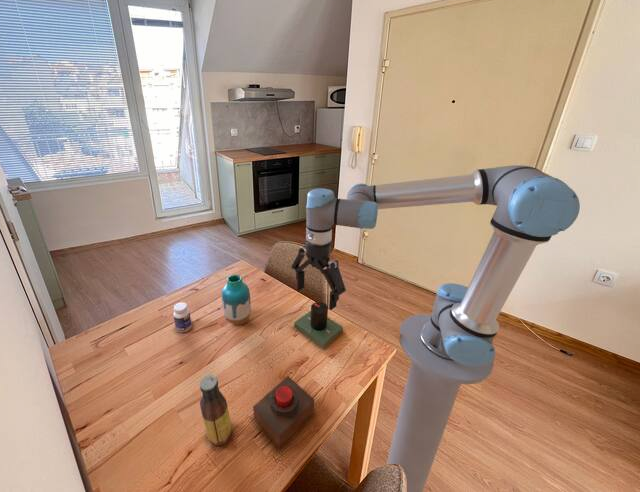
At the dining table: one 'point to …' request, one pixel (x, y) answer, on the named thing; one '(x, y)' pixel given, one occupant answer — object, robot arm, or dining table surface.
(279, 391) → the light button
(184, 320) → the pill bottle
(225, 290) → the vase
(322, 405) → the dining table surface
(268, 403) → the switch box
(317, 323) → the dimmer knob
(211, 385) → the sauce bottle
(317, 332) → the panel
